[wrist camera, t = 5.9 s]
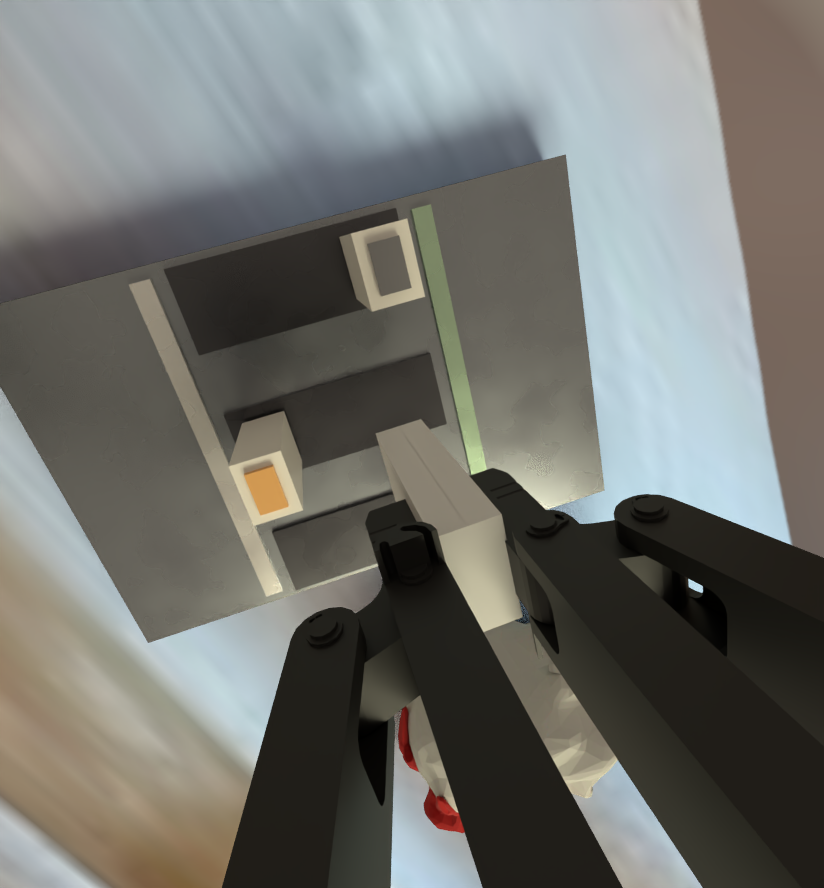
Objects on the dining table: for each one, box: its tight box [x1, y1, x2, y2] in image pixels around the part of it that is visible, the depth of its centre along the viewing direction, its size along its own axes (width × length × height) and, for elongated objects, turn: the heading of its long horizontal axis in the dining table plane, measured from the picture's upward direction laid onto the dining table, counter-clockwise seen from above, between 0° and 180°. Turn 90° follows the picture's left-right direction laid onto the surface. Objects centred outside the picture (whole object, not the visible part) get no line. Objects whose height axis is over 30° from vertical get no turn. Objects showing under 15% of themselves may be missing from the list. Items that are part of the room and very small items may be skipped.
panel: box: [0, 155, 604, 643], centre depth 24 cm, size 24×16×2 cm, turn 104°
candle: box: [398, 621, 618, 833], centre depth 29 cm, size 9×11×15 cm
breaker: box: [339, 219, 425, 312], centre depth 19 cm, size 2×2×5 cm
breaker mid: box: [228, 411, 303, 526], centre depth 20 cm, size 2×2×5 cm
